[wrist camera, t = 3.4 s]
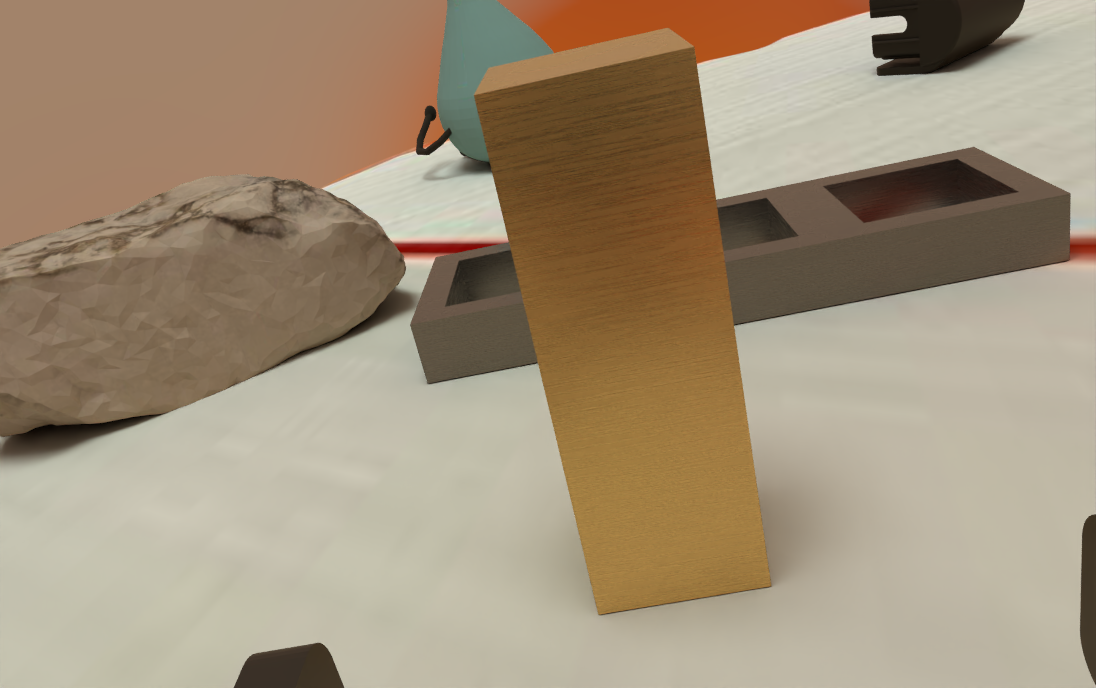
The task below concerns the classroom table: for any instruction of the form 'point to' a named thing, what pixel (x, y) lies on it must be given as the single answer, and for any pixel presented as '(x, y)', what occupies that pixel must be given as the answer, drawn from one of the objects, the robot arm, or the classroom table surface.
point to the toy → (474, 68)
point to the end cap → (938, 31)
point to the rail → (790, 252)
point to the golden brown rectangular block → (630, 312)
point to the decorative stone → (181, 298)
